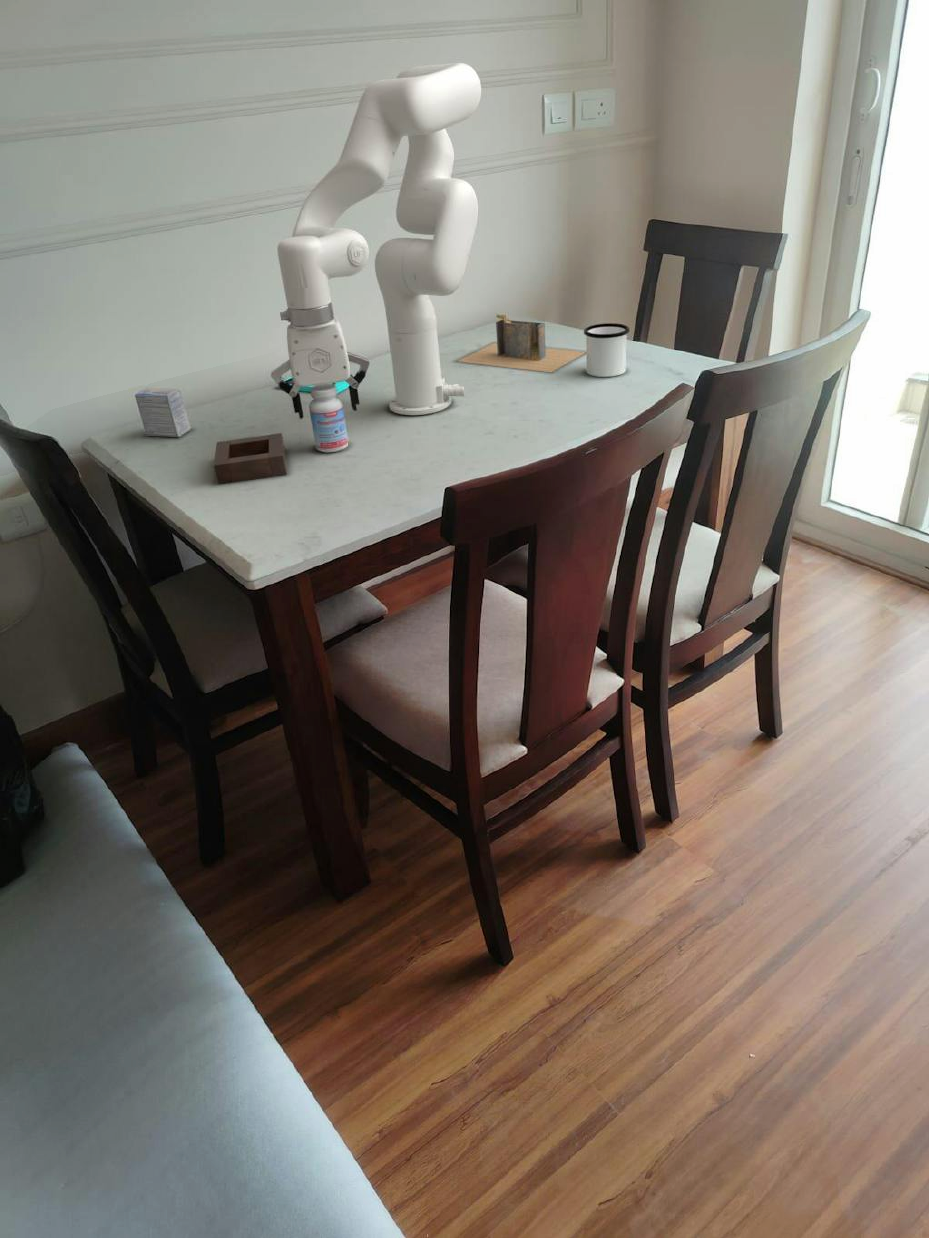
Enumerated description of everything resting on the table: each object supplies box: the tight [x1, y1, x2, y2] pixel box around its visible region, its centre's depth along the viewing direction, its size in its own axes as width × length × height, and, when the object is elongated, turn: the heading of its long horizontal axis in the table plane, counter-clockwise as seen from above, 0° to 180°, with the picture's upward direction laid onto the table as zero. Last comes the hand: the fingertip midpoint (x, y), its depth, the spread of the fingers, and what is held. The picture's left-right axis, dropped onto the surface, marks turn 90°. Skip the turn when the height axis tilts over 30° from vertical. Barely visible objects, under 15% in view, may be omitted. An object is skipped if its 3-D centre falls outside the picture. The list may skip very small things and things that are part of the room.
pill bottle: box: [308, 384, 349, 453], centre depth 160 cm, size 6×6×11 cm
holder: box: [213, 432, 288, 485], centre depth 157 cm, size 12×12×4 cm
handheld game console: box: [277, 375, 350, 394], centre depth 197 cm, size 10×16×1 cm, turn 60°
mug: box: [583, 322, 630, 378], centre depth 187 cm, size 12×10×9 cm
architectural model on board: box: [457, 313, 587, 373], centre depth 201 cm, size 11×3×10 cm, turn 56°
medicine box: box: [134, 387, 192, 438], centre depth 175 cm, size 8×4×9 cm, turn 71°
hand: (327, 412), depth 160 cm, fingers open, 9 cm apart
